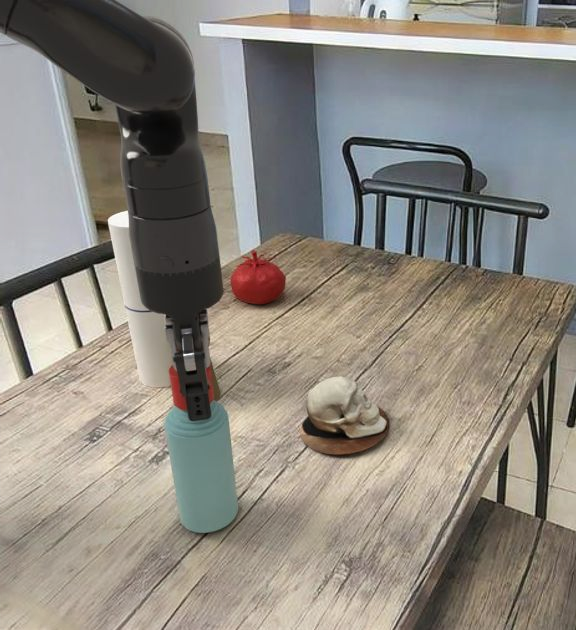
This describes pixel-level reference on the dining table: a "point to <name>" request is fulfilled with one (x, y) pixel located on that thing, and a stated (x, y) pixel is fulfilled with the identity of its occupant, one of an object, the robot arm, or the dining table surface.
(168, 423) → the bottle
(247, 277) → the pomegranate
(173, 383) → the cap
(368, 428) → the skull
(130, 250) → the cylindrical container
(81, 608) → the dining table surface
